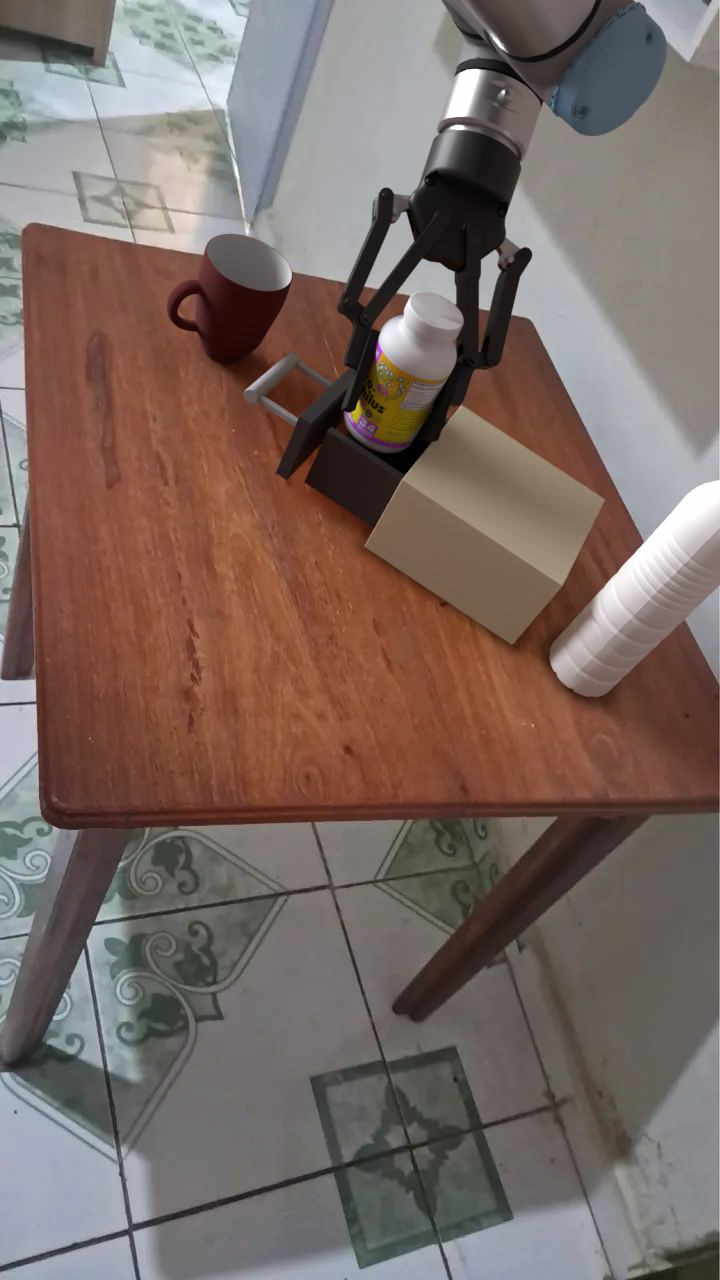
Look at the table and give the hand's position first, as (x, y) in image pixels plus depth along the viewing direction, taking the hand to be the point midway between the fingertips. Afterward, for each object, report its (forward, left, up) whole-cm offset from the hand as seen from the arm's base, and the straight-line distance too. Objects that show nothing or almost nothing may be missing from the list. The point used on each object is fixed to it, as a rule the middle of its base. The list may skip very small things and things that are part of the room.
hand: (389, 424), depth 79 cm
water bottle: (+26, -2, -10) cm, 28 cm away
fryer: (+11, +3, -10) cm, 15 cm away
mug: (-20, +7, -10) cm, 23 cm away
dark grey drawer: (-2, +3, -9) cm, 10 cm away
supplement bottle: (-1, +3, -4) cm, 5 cm away
